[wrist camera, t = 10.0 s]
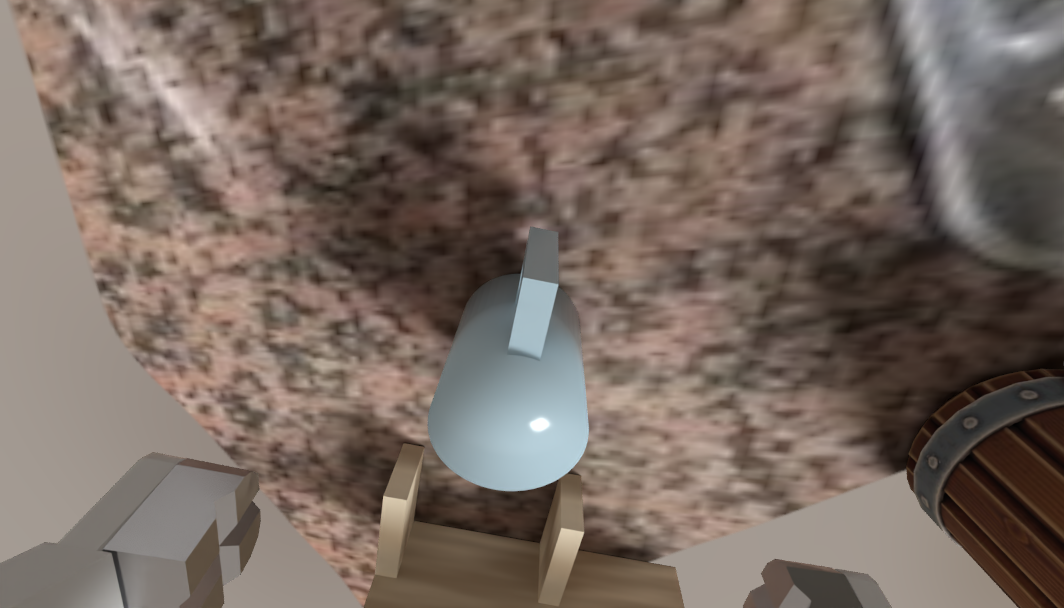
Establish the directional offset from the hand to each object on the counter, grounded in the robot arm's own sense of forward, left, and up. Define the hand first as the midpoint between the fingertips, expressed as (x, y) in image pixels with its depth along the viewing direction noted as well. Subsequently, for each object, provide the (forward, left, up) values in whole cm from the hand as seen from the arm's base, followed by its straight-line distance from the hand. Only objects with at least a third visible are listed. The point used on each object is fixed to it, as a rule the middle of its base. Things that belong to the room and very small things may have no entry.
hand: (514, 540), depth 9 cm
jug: (+4, 0, -18) cm, 18 cm away
